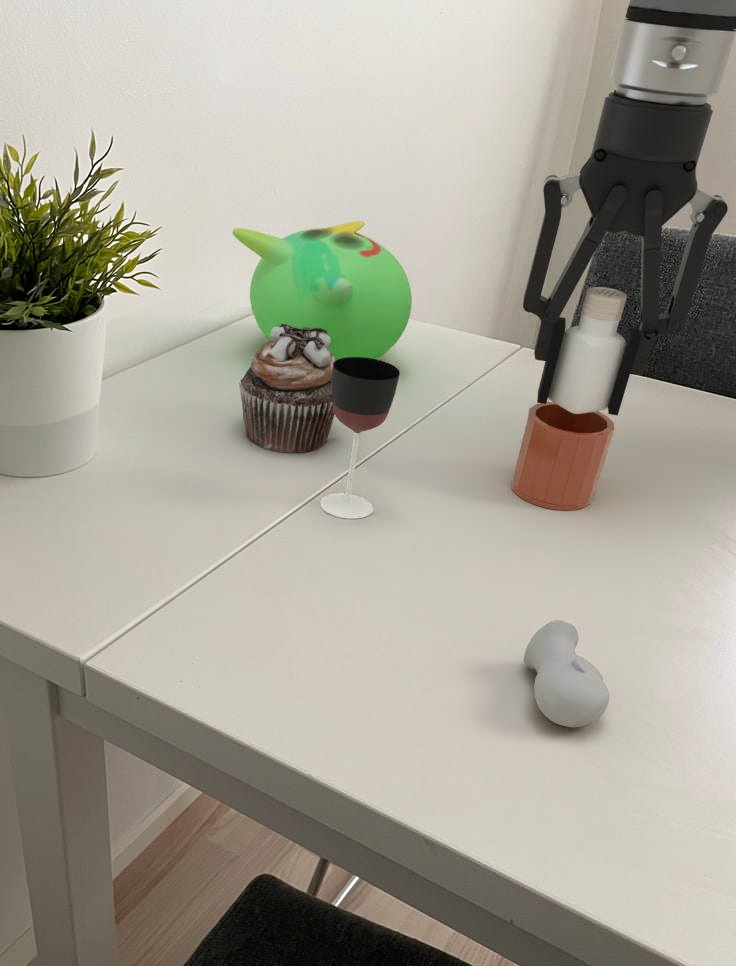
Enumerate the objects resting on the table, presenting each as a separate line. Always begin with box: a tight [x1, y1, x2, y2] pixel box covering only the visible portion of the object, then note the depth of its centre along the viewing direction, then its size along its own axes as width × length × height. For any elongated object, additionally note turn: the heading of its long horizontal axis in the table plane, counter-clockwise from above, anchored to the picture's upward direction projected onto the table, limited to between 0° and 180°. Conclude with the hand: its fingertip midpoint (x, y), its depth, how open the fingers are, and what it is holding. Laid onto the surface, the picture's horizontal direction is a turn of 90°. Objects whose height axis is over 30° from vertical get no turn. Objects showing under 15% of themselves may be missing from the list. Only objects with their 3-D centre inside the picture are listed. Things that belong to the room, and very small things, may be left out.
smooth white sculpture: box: [523, 619, 610, 728], centre depth 64 cm, size 4×8×5 cm
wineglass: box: [319, 357, 401, 520], centre depth 81 cm, size 5×5×12 cm
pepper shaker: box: [548, 286, 628, 414], centre depth 82 cm, size 4×4×10 cm
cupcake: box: [238, 324, 336, 454], centre depth 92 cm, size 10×10×10 cm
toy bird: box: [232, 221, 413, 360], centre depth 108 cm, size 18×17×15 cm
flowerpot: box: [510, 401, 615, 511], centre depth 88 cm, size 7×7×7 cm
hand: (577, 402), depth 85 cm, fingers closed on pepper shaker, 5 cm apart
